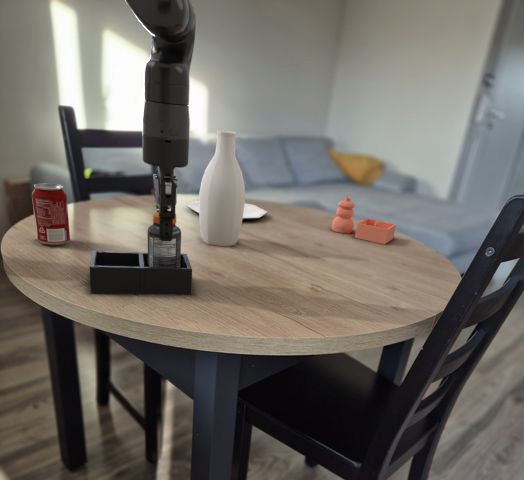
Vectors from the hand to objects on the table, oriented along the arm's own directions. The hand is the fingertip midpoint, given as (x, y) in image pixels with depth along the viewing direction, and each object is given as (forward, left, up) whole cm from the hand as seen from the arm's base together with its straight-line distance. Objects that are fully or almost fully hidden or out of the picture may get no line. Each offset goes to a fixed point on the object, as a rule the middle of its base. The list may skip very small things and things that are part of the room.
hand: (164, 235), depth 86 cm
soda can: (-22, +25, -10) cm, 35 cm away
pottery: (+61, +44, -10) cm, 76 cm away
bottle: (+16, +31, -10) cm, 36 cm away
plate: (+24, +63, -10) cm, 68 cm away
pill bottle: (0, 0, -8) cm, 8 cm away
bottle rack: (-4, 0, -9) cm, 10 cm away
